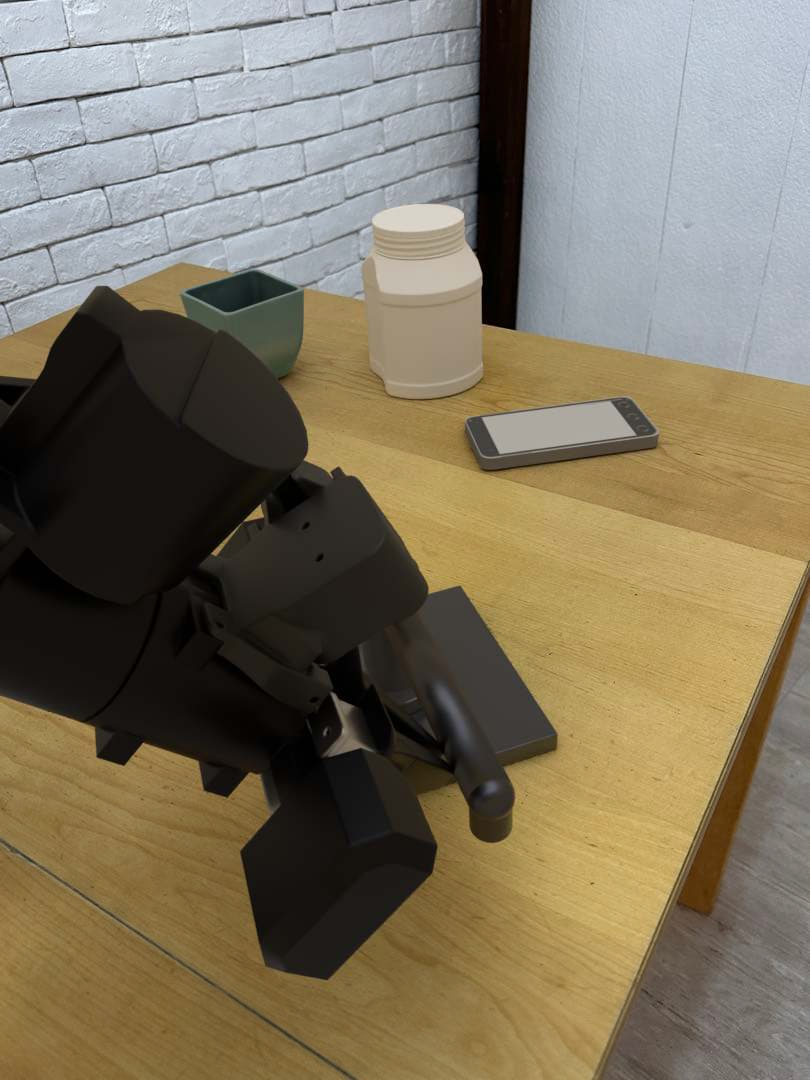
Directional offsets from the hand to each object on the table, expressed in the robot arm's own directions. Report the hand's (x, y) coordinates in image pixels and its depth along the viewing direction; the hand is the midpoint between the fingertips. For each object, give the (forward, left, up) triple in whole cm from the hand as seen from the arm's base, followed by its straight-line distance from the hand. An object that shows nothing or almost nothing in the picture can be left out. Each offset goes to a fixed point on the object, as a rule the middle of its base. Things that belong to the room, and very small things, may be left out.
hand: (441, 767), depth 38 cm
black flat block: (+9, +9, -8) cm, 15 cm away
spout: (+4, +3, -2) cm, 6 cm away
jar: (+47, +30, -8) cm, 57 cm away
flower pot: (+39, +45, -8) cm, 60 cm away
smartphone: (+41, +13, -8) cm, 44 cm away
